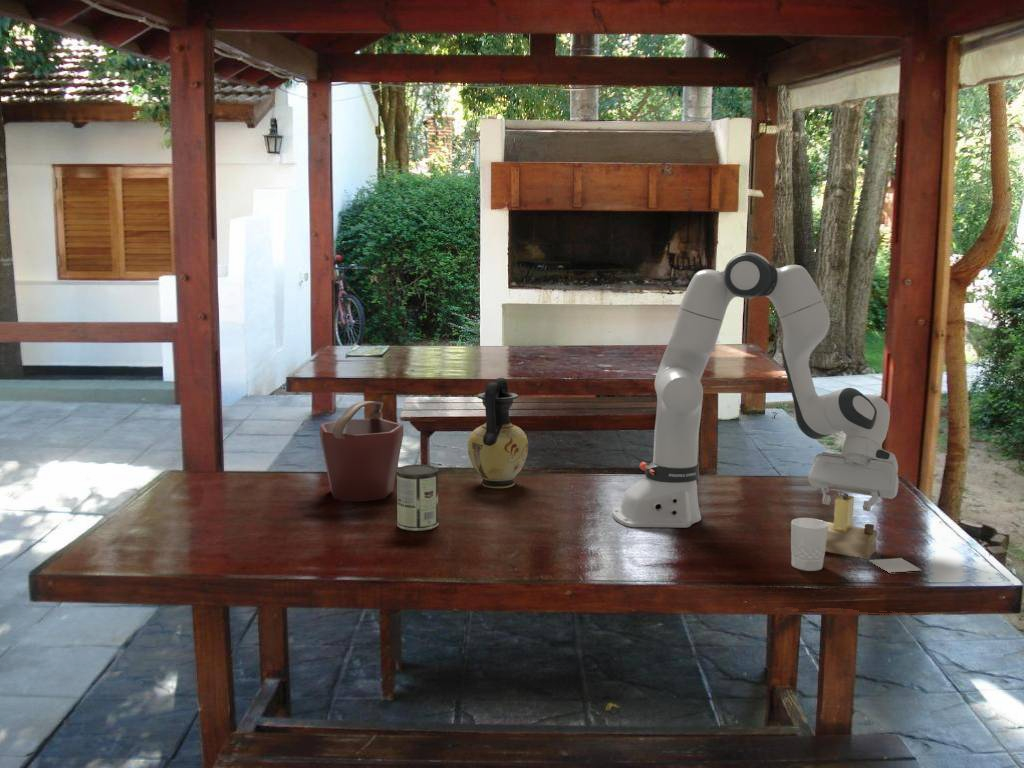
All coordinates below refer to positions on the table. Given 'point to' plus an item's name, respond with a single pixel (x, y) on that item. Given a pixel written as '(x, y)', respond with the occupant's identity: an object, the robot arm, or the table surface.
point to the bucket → (361, 454)
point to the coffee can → (417, 497)
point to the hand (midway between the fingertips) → (845, 506)
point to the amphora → (497, 439)
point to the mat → (894, 565)
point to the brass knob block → (843, 513)
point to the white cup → (808, 543)
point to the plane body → (852, 541)
